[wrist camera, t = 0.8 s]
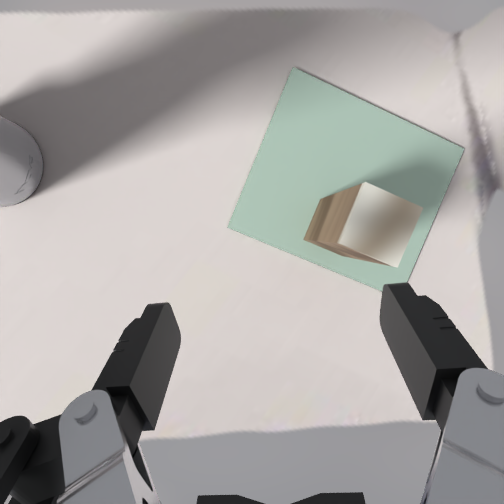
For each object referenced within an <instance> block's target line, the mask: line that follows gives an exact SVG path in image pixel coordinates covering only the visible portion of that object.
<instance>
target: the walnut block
mask: <svg viewBox="0 0 504 504" xmlns="http://www.w3.org/2000/svg"><path fill="white" fill-rule="evenodd" d="M422 210H423V207H421V206H418V205H416V204H414V203H412V202H409V201H407V200H405V199H403V198H400V197H398V196H396V195H394V194H392V193H389V192H387V191H385V190H383V189H380V188H378V187H376V186H374V185H372V184H369V183H367V182H364V183H362V184H359V185H356V186H354V187H351V188H348V189H346V190H343V191H340V192H338V193H335V194H332V195H330V196H327V197H324V198H322V199H320V201H319V203H318V205H317V208H316V210H315V213H314V215H313V217H312V220H311V222H310V225H309V227H308V229H307V232H306V234H305V237H304V239H303V240H305V241H307V242H310V243H312V244H315V245H317V246H319V247H322V248H324V249H326V250H329V251H331V252H334V253H336V254H338V255H341V256H344V257H349V258H354V259H358V260H363V261H368V262H373V263H378V264H382V265H387V266H392V267H397V268H398V266H399V263H400V261H401V259H402V256H403V254H404V252H405V249H406V247H407V245H408V242H409V240H410V238H411V235H412V233H413V231H414V228H415V226H416V224H417V221H418V219H419V217H420V214H421V212H422Z"/></svg>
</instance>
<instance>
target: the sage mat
mask: <svg viewBox="0 0 504 504" xmlns="http://www.w3.org/2000/svg"><path fill="white" fill-rule="evenodd" d="M463 151H464V148H462V147H460V146H458V145H455V144H453V143H451V142H449V141H447V140H445V139H443V138H441V137H439V136H437V135H434V134H432V133H430V132H428V131H426V130H424V129H422V128H420V127H418V126H416V125H414V124H411V123H409V122H407V121H405V120H403V119H401V118H399V117H397V116H395V115H393V114H390V113H388V112H386V111H384V110H382V109H380V108H378V107H376V106H374V105H372V104H369V103H367V102H365V101H363V100H361V99H359V98H357V97H355V96H353V95H351V94H349V93H346V92H344V91H342V90H340V89H338V88H336V87H334V86H332V85H330V84H328V83H325V82H323V81H321V80H319V79H317V78H315V77H313V76H311V75H309V74H307V73H305V72H302V71H300V70H298V69H296V68H294V67H293V68H292V70H291V73H290V75H289V78H288V80H287V83H286V85H285V87H284V90H283V92H282V95H281V97H280V100H279V102H278V105H277V107H276V109H275V112H274V114H273V117H272V119H271V122H270V124H269V127H268V129H267V132H266V134H265V136H264V139H263V141H262V144H261V146H260V149H259V151H258V154H257V156H256V159H255V161H254V163H253V166H252V168H251V171H250V173H249V176H248V178H247V181H246V183H245V186H244V188H243V190H242V193H241V195H240V198H239V200H238V203H237V205H236V208H235V210H234V212H233V215H232V217H231V220H230V222H229V225H228V228H230V229H232V230H235V231H237V232H240V233H242V234H245V235H247V236H249V237H252V238H254V239H257V240H259V241H261V242H264V243H266V244H269V245H271V246H274V247H276V248H278V249H281V250H283V251H286V252H288V253H290V254H293V255H295V256H298V257H300V258H303V259H305V260H307V261H310V262H312V263H315V264H317V265H320V266H322V267H324V268H327V269H329V270H332V271H334V272H336V273H339V274H341V275H344V276H346V277H349V278H351V279H353V280H356V281H358V282H361V283H363V284H366V285H368V286H370V287H373V288H375V289H378V290H380V291H382V290H383V286H384V284H393V283H404V282H407V281H408V278H409V276H410V274H411V272H412V269H413V267H414V265H415V262H416V260H417V258H418V255H419V253H420V251H421V248H422V246H423V244H424V241H425V239H426V237H427V234H428V232H429V230H430V227H431V225H432V223H433V221H434V218H435V216H436V214H437V211H438V209H439V207H440V204H441V202H442V200H443V197H444V195H445V193H446V190H447V188H448V186H449V183H450V181H451V179H452V176H453V174H454V172H455V169H456V167H457V165H458V163H459V160H460V158H461V156H462V153H463ZM364 182H367V183H369V184H372V185H374V186H376V187H378V188H380V189H383V190H385V191H387V192H389V193H392V194H394V195H396V196H398V197H400V198H403V199H405V200H407V201H409V202H412V203H414V204H416V205H418V206H421V207H423V210H422V212H421V214H420V217H419V219H418V221H417V224H416V226H415V228H414V231H413V233H412V235H411V238H410V240H409V242H408V245H407V247H406V249H405V252H404V254H403V256H402V259H401V261H400V263H399V266H398V268H397V267H392V266H387V265H382V264H378V263H373V262H368V261H363V260H358V259H354V258H349V257H344V256H341V255H338V254H336V253H334V252H331V251H329V250H326V249H324V248H322V247H319V246H317V245H315V244H312V243H310V242H307V241H305V240H303V239H304V237H305V234H306V232H307V229H308V227H309V225H310V222H311V220H312V217H313V215H314V213H315V210H316V208H317V205H318V203H319V201H320V199H322V198H324V197H327V196H330V195H332V194H335V193H338V192H340V191H343V190H346V189H348V188H351V187H354V186H356V185H359V184H362V183H364Z"/></svg>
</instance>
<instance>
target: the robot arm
mask: <svg viewBox="0 0 504 504" xmlns="http://www.w3.org/2000/svg"><path fill="white" fill-rule="evenodd" d="M42 173H43V160H42V154H41V151H40V149H39V147H38V144H37V143H36V141H35V140H34V138H33V137H32V136H31V135H30V134H29V133H28V132H27V131H26V130H25V129H23V128H22V127H20V126H19V125H17V124H15V123H13V122H11V121H10V120H8V119H6V118H4V117H2V116H0V207H6V206H10V205H15V204H17V203H19V202H22V201H24V200H25V199H26V198H28V197H29V196H30V195H31V194H32V193H33V192H34V191H35V189H36V188H37V186H38V184H39V182H40V180H41V176H42ZM380 325H381V329H382V332H383V334H384V337H385V339H386V341H387V343H388V345H389V348H390V350H391V352H392V354H393V356H394V359H395V361H396V363H397V365H398V367H399V369H400V372H401V374H402V376H403V378H404V380H405V383H406V385H407V387H408V389H409V391H410V394H411V396H412V398H413V400H414V402H415V404H416V407H417V409H418V411H419V413H420V415H421V418H422V420H436V421H437V423H438V425H439V427H440V429H441V431H440V435H439V438H438V442H437V445H436V449H435V453H434V456H433V460H432V464H431V467H430V471H429V474H428V478H427V482H426V486H425V489H424V493H423V496H422V500H421V503H420V504H504V376H503V375H502V374H499V373H497V372H495V371H492V370H489V369H488V368H487V367H486V366H485V365H484V363H483V362H482V361H481V359H480V358H479V357H478V355H477V354H476V353H475V351H474V350H473V349H472V347H471V346H470V345H469V343H468V342H467V341H466V339H465V338H464V337H463V335H462V334H461V333H460V332H459V330H458V329H456V326H455V325H454V324H453V322H452V321H451V320H450V319H449V318H448V316H447V314H446V313H445V312H444V310H443V309H442V308H441V306H440V305H439V304H437V303H436V302H434V301H433V300H431V299H430V298H429V297H427V296H426V295H424V296H417V295H416V293H415V292H414V290H413V289H412V287H411V286H410V284H409V283H407V282H404V283H393V284H384V286H383V290H382V299H381V309H380ZM180 343H181V334H180V330H179V327H178V324H177V322H176V319H175V316H174V313H173V311H172V308H171V305H170V304H169V303H155V304H148V305H147V306H146V308H145V310H144V312H143V314H142V316H141V318H136V319H134V320H133V321H132V322H131V323H130V324H129V325H128V326H127V327H126V328H125V330H124V331H123V333H122V335H121V337H120V339H119V343H117V344H116V346H115V348H114V352H112V354H111V355H110V357H109V359H108V361H107V363H106V365H105V366H104V368H103V370H102V372H101V374H100V376H99V378H98V379H97V381H96V383H95V385H94V387H93V389H92V390H91V391H89V392H86V393H84V394H82V395H80V396H79V397H77V398H76V399H75V400H73V401H72V402H71V403H70V404H69V405H68V406H67V408H66V409H65V410H64V412H63V413H62V414H61V415H58V416H56V417H53V418H50V419H47V420H44V421H42V422H39V423H36V424H32V423H31V422H30V420H29V419H28V418H27V417H25V416H14V417H11V418H8V419H6V420H4V421H2V422H0V504H4V502H5V500H6V499H7V497H8V495H9V494H10V495H11V496H12V498H11V500H10V502H9V503H8V504H161V502H160V500H159V498H158V495H157V492H156V489H155V486H154V483H153V480H152V478H151V475H150V472H149V469H148V466H147V463H146V461H145V458H144V455H143V452H142V449H141V446H140V444H139V442H138V441H139V438H140V435H141V432H142V431H149V430H155V426H156V423H157V420H158V417H159V413H160V410H161V407H162V404H163V400H164V397H165V394H166V391H167V387H168V384H169V381H170V377H171V374H172V371H173V368H174V364H175V361H176V358H177V355H178V351H179V348H180ZM197 504H264V503H261V502H257V501H254V500H251V499H248V498H245V497H242V496H239V495H205V496H204V495H203V496H198V499H197ZM292 504H365V500H364V495H363V493H362V492H361V493H320V494H317V495H314V496H311V497H309V498H306V499H303V500H300V501H298V502H295V503H292Z"/></svg>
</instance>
